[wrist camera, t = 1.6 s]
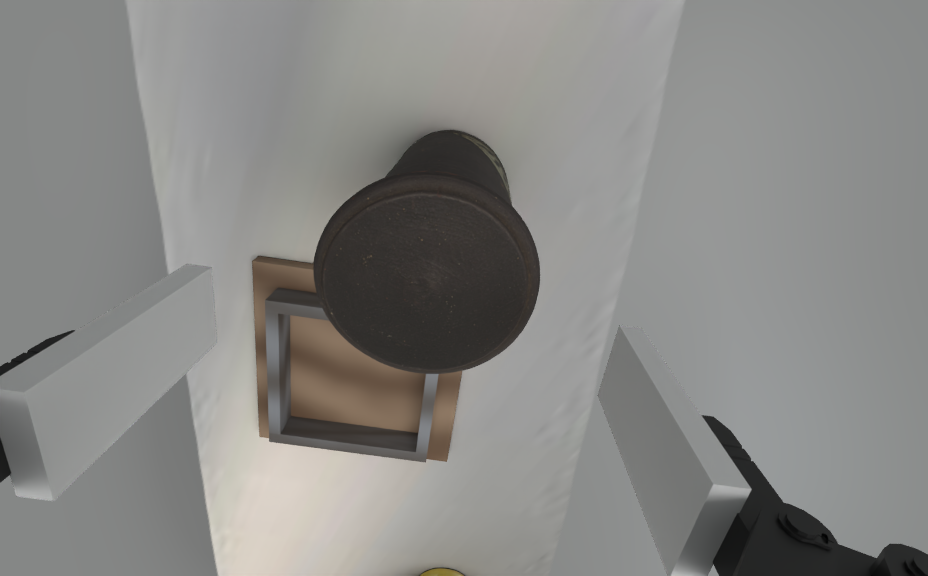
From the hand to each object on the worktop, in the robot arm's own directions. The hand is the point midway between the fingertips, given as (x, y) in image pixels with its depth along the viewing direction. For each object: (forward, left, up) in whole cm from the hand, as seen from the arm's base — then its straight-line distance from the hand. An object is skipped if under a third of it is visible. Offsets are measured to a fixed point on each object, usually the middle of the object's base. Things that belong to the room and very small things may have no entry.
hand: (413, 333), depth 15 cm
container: (0, 0, -23) cm, 23 cm away
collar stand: (+17, -6, -23) cm, 29 cm away
